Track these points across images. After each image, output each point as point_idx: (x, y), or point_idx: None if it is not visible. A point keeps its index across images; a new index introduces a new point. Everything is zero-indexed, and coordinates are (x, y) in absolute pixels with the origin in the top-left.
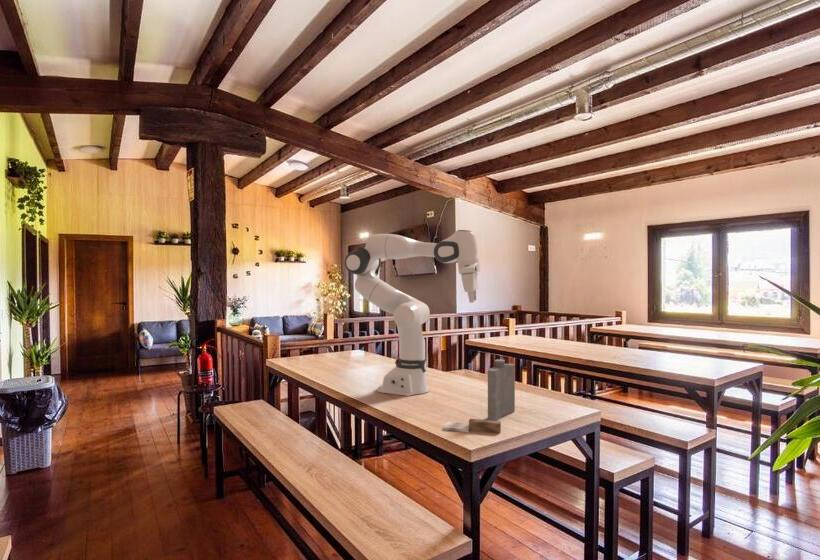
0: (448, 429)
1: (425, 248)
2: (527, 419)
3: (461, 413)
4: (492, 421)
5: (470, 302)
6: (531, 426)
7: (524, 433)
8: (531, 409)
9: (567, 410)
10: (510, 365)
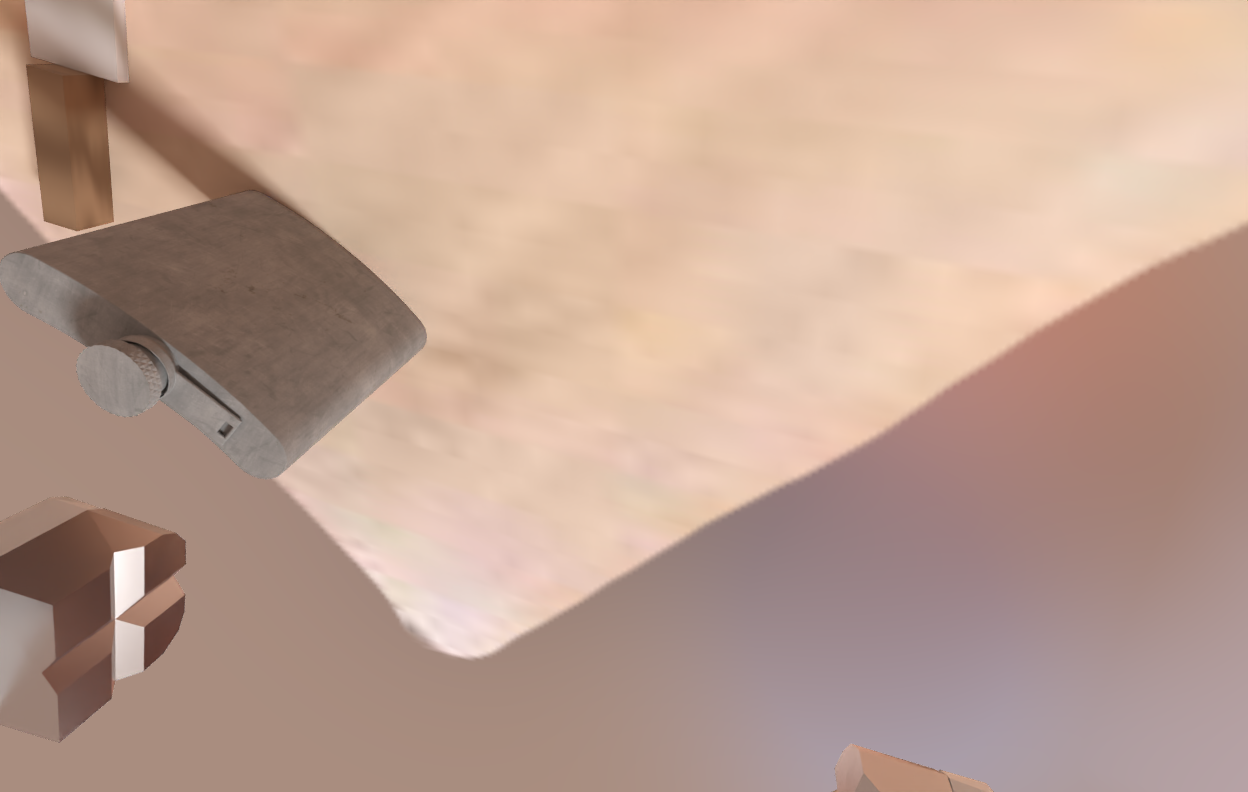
0: None
1: None
2: None
3: (325, 50)
4: (60, 190)
5: (69, 515)
6: None
7: None
8: (448, 437)
9: (451, 572)
10: (216, 443)
